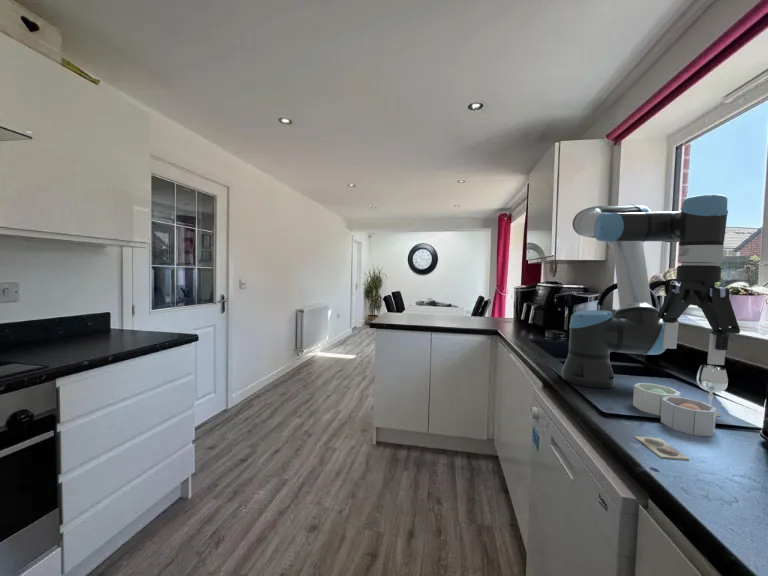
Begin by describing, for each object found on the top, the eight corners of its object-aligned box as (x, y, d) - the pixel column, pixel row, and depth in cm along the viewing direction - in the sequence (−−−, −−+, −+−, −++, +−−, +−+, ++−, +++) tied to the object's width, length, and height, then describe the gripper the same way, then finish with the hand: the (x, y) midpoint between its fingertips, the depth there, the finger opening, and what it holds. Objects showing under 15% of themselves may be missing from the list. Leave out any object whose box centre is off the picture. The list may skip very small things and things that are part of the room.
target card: (634, 437, 73) (634, 435, 73) (659, 439, 72) (659, 437, 72) (660, 457, 65) (660, 455, 65) (689, 460, 65) (689, 457, 64)
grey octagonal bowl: (653, 417, 84) (654, 395, 84) (692, 419, 83) (694, 397, 83) (680, 434, 75) (682, 410, 75) (725, 437, 74) (727, 413, 74)
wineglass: (703, 407, 91) (706, 363, 91) (730, 416, 86) (734, 369, 85) (689, 409, 90) (692, 365, 89) (716, 418, 84) (719, 371, 83)
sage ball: (639, 399, 92) (644, 384, 90) (659, 401, 91) (664, 385, 90) (650, 412, 87) (655, 396, 85) (671, 413, 87) (677, 397, 85)
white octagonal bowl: (626, 401, 94) (628, 382, 94) (661, 403, 93) (663, 384, 93) (648, 415, 85) (649, 393, 85) (687, 417, 84) (688, 396, 84)
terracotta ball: (667, 415, 82) (673, 398, 80) (690, 417, 81) (696, 399, 80) (682, 430, 77) (689, 412, 75) (706, 432, 77) (713, 414, 75)
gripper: (645, 264, 90) (639, 342, 92) (729, 264, 65) (719, 371, 67) (676, 264, 89) (669, 343, 91) (773, 265, 64) (761, 373, 66)
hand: (690, 355), depth 79 cm, fingers open, 13 cm apart
